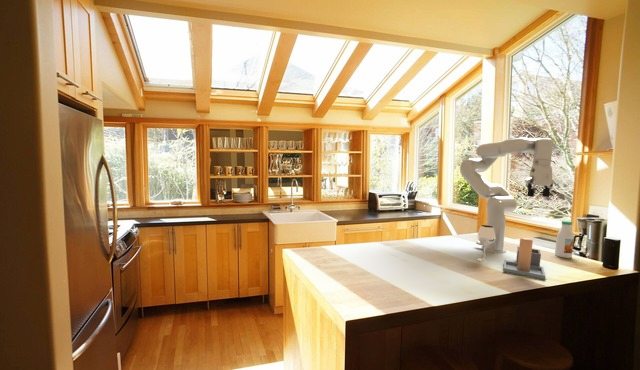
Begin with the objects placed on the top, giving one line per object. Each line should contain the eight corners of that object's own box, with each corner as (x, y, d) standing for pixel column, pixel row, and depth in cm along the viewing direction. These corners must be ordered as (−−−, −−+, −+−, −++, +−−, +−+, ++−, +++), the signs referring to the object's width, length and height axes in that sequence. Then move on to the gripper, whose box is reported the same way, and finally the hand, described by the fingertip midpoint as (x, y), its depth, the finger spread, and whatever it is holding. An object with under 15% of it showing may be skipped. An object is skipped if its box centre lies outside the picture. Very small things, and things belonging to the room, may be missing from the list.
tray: (503, 272, 150) (503, 267, 150) (504, 264, 162) (504, 260, 162) (545, 280, 142) (545, 275, 142) (542, 271, 154) (543, 267, 154)
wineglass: (492, 259, 169) (495, 225, 167) (493, 264, 161) (496, 228, 160) (475, 257, 172) (478, 223, 171) (475, 261, 165) (478, 226, 163)
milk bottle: (557, 257, 180) (560, 221, 178) (552, 253, 187) (556, 219, 185) (573, 259, 177) (578, 223, 175) (569, 255, 184) (573, 220, 182)
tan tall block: (517, 270, 151) (520, 239, 150) (517, 267, 155) (520, 237, 154) (529, 273, 149) (533, 241, 147) (529, 270, 153) (532, 239, 152)
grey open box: (516, 265, 161) (517, 250, 161) (516, 260, 170) (517, 246, 169) (539, 269, 156) (540, 254, 156) (538, 264, 165) (539, 249, 164)
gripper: (534, 162, 158) (530, 197, 159) (562, 163, 162) (558, 197, 163) (521, 162, 165) (518, 195, 167) (548, 163, 169) (545, 195, 171)
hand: (538, 196), depth 165 cm, fingers open, 9 cm apart
